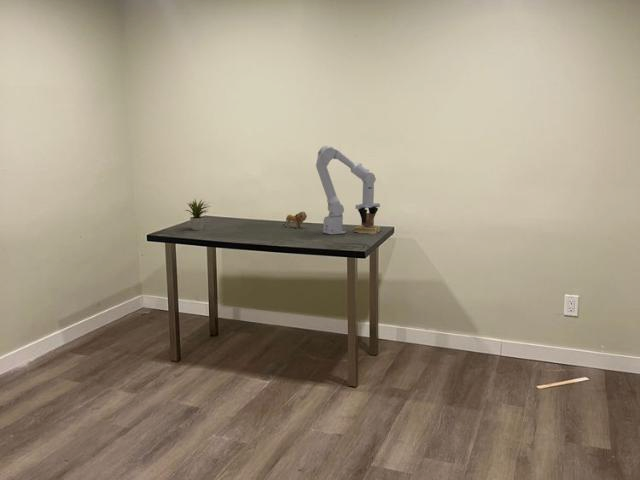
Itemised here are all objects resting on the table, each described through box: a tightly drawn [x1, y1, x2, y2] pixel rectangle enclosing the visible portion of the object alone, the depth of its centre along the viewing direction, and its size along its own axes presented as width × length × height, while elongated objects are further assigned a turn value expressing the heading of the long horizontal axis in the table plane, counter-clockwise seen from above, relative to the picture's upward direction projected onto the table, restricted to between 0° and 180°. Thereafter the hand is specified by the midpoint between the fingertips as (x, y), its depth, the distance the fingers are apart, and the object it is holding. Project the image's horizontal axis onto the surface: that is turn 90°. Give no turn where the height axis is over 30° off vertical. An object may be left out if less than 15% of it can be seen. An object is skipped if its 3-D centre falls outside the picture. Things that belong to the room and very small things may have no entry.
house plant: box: [184, 198, 211, 231], centre depth 312 cm, size 14×14×16 cm
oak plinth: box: [353, 224, 381, 235], centre depth 310 cm, size 11×11×3 cm
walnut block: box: [360, 212, 375, 226], centre depth 309 cm, size 4×4×6 cm
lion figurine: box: [282, 211, 308, 229], centre depth 321 cm, size 15×5×9 cm, turn 63°
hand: (367, 221), depth 309 cm, fingers closed on walnut block, 4 cm apart
